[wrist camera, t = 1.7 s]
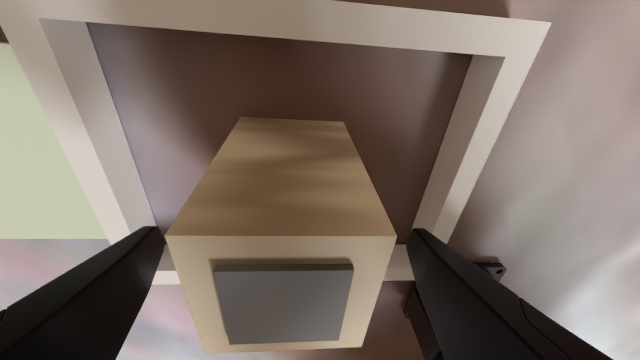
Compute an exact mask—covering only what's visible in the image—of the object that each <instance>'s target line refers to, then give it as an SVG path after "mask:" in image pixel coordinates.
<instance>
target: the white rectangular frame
mask: <svg viewBox="0 0 640 360" xmlns="http://www.w3.org/2000/svg"><path fill="white" fill-rule="evenodd" d="M86 22H94V23H106V24H118V25H130V26H142V27H154V28H165V29H177V30H189V31H201V32H213V33H225V34H237V35H249V36H261V37H273V38H285V39H297V40H309V41H321V42H333V43H345V44H357V45H369V46H381V47H393V48H405V49H417V50H428V51H440V52H452V53H464V54H473V57H472V60H471V63H470V65H469V68H468V71H467V74H466V77H465V79H464V82H463V85H462V88H461V91H460V94H459V96H458V99H457V102H456V105H455V108H454V110H453V113H452V116H451V119H450V122H449V125H448V127H447V130H446V133H445V136H444V139H443V141H442V144H441V147H440V150H439V153H438V156H437V158H436V161H435V164H434V167H433V170H432V172H431V175H430V178H429V181H428V184H427V187H426V189H425V192H424V195H423V198H422V201H421V203H420V206H419V209H418V212H417V215H416V218H415V220H414V223H413V226H412V229H413V228H424V229H426V230H427V231H429V232H430V233H431V234H433V235H434V236H436V237H437V238H438V239H440V240H441V241H442V242H444V243H445V244H447V243H448V241H449V239H450V236H451V234H452V232H453V230H454V228H455V226H456V224H457V222H458V220H459V217H460V215H461V213H462V211H463V209H464V207H465V205H466V203H467V201H468V198H469V196H470V194H471V192H472V190H473V188H474V186H475V184H476V182H477V179H478V177H479V175H480V173H481V171H482V169H483V167H484V165H485V163H486V160H487V158H488V156H489V154H490V152H491V150H492V148H493V146H494V144H495V141H496V139H497V137H498V135H499V133H500V131H501V129H502V127H503V124H504V122H505V120H506V118H507V116H508V114H509V112H510V110H511V108H512V105H513V103H514V101H515V99H516V97H517V95H518V93H519V91H520V89H521V86H522V84H523V82H524V80H525V78H526V76H527V74H528V72H529V70H530V67H531V65H532V63H533V61H534V59H535V57H536V55H537V53H538V51H539V48H540V46H541V44H542V42H543V40H544V38H545V36H546V34H547V31H548V29H549V27H550V25H551V22H541V21H531V20H521V19H512V18H502V17H492V16H482V15H472V14H462V13H452V12H442V11H432V10H423V9H413V8H403V7H393V6H383V5H373V4H363V3H353V2H344V1H334V0H0V26H1V28H2V30H3V32H4V34H5V36H6V38H7V40H8V42H9V44H10V46H11V48H12V50H13V51H14V53H15V55H16V57H17V59H18V61H19V63H20V65H21V67H22V69H23V71H24V73H25V75H26V77H27V79H28V81H29V83H30V85H31V87H32V89H33V91H34V93H35V95H36V97H37V99H38V101H39V103H40V105H41V107H42V109H43V111H44V113H45V115H46V117H47V119H48V121H49V123H50V125H51V127H52V129H53V131H54V133H55V135H56V137H57V139H58V141H59V143H60V145H61V147H62V149H63V151H64V153H65V155H66V157H67V159H68V161H69V163H70V165H71V167H72V169H73V171H74V173H75V175H76V177H77V179H78V181H79V183H80V185H81V187H82V189H83V191H84V193H85V195H86V197H87V199H88V201H89V203H90V205H91V207H92V209H93V211H94V213H95V215H96V217H97V219H98V221H99V223H100V225H101V227H102V229H103V231H104V233H105V235H106V237H107V239H108V241H109V243H110V245H113V244H114V243H116V242H118V241H119V240H121V239H123V238H124V237H126V236H128V235H130V234H131V233H133V232H135V231H136V230H138V229H140V228H141V227H143V226H156V223H155V220H154V217H153V214H152V211H151V208H150V206H149V203H148V200H147V197H146V194H145V191H144V188H143V186H142V183H141V180H140V177H139V174H138V171H137V168H136V165H135V163H134V160H133V157H132V154H131V151H130V148H129V145H128V143H127V140H126V137H125V134H124V131H123V128H122V125H121V123H120V120H119V117H118V114H117V111H116V108H115V105H114V103H113V100H112V97H111V94H110V91H109V88H108V85H107V83H106V80H105V77H104V74H103V71H102V68H101V65H100V63H99V60H98V57H97V54H96V51H95V48H94V45H93V42H92V40H91V37H90V34H89V31H88V28H87V25H86ZM412 229H411V230H412ZM409 235H410V234H409ZM408 238H409V237H408ZM407 241H408V240H407ZM406 244H407V243H406ZM404 280H415V279H414V275H413V272H412V268H411V264H410V261H409V257H408V253H407V249H406V245H394V248H393V251H392V254H391V257H390V260H389V264H388V267H387V270H386V273H385V276H384V279H383V281H404ZM157 284H181V283H180V280H179V277H178V274H177V271H176V268H175V265H174V262H173V259H172V256H171V253H170V250H169V247H168V245H165V247H164V252H163V254H162V257H161V260H160V263H159V265H158V268H157V271H156V273H155V276H154V279H153V282H152V284H151V285H157Z"/></svg>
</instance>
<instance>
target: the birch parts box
mask: <svg viewBox="0 0 640 360" xmlns="http://www.w3.org/2000/svg"><path fill="white" fill-rule="evenodd" d="M165 239H166V242H167V245H168V247H169V250H170V253H171V256H172V259H173V262H174V265H175V268H176V271H177V274H178V277H179V280H180V283H181V286H182V289H183V292H184V295H185V298H186V301H187V304H188V307H189V310H190V313H191V315H192V318H193V321H194V324H195V327H196V330H197V333H198V336H199V339H200V342H201V345H202V348H203V351H204V354H212V353H235V352H258V351H281V350H304V349H327V348H350V347H362V344H363V341H364V338H365V335H366V332H367V329H368V325H369V322H370V319H371V316H372V313H373V310H374V307H375V304H376V301H377V298H378V295H379V291H380V288H381V285H382V282H383V279H384V276H385V273H386V270H387V267H388V264H389V260H390V257H391V254H392V251H393V248H394V245H395V242H396V239H397V235H396V233H395V231H394V228H393V226H392V224H391V222H390V220H389V218H388V216H387V214H386V211H385V209H384V207H383V205H382V203H381V201H380V199H379V196H378V194H377V192H376V190H375V188H374V186H373V184H372V182H371V179H370V177H369V175H368V173H367V171H366V169H365V167H364V165H363V162H362V160H361V158H360V156H359V154H358V152H357V150H356V148H355V145H354V143H353V141H352V139H351V137H350V135H349V133H348V131H347V128H346V126H345V124H344V122H336V121H317V120H297V119H277V118H257V117H240V119H239V120H238V122H237V123H236V125H235V126H234V128H233V129H232V131H231V133H230V134H229V136H228V137H227V139H226V140H225V142H224V144H223V145H222V147H221V148H220V150H219V151H218V153H217V154H216V156H215V158H214V159H213V161H212V162H211V164H210V165H209V167H208V169H207V170H206V172H205V173H204V175H203V176H202V178H201V179H200V181H199V183H198V184H197V186H196V187H195V189H194V190H193V192H192V194H191V195H190V197H189V198H188V200H187V201H186V203H185V204H184V206H183V208H182V209H181V211H180V212H179V214H178V215H177V217H176V219H175V220H174V222H173V223H172V225H171V226H170V228H169V229H168V231H167V233H166V234H165Z"/></svg>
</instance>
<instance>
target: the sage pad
mask: <svg viewBox="0 0 640 360" xmlns="http://www.w3.org/2000/svg"><path fill="white" fill-rule="evenodd" d="M0 239H107V237H106V235H105V233H104V231H103V229H102V227H101V225H100V223H99V221H98V219H97V217H96V215H95V213H94V211H93V209H92V207H91V205H90V203H89V201H88V199H87V197H86V195H85V193H84V191H83V189H82V187H81V185H80V183H79V181H78V179H77V177H76V175H75V173H74V171H73V169H72V167H71V165H70V163H69V161H68V159H67V157H66V155H65V153H64V151H63V149H62V147H61V145H60V143H59V141H58V139H57V137H56V135H55V133H54V131H53V129H52V127H51V125H50V123H49V121H48V119H47V117H46V115H45V113H44V111H43V109H42V107H41V105H40V103H39V101H38V99H37V97H36V95H35V93H34V91H33V89H32V87H31V85H30V83H29V81H28V79H27V77H26V75H25V73H24V71H23V69H22V67H21V65H20V63H19V61H18V59H17V57H16V55H15V53H14V51H13V50H12V48H11V46H10V44H9V43H8V42H0Z"/></svg>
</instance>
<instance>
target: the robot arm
mask: <svg viewBox="0 0 640 360" xmlns="http://www.w3.org/2000/svg"><path fill="white" fill-rule="evenodd" d="M164 247H165V244H164V241H163V238H162V235H161V232H160V229H159V228H158V227H157V226H143V227H141V228H140V229H138V230H136V231H135V232H133V233H131V234H130V235H128V236H126V237H124V238H123V239H121V240H119V241H118V242H116V243H114V244H113V245H111V246H109V247H108V248H106V249H104V250H103V251H101V252H99V253H98V254H96V255H94V256H93V257H91V258H89V259H88V260H86V261H84V262H82V263H81V264H79V265H77V266H76V267H74V268H72V269H71V270H69V271H67V272H66V273H64V274H62V275H61V276H59V277H57V278H56V279H54V280H52V281H51V282H49V283H47V284H45V285H44V286H42V287H40V288H39V289H37V290H35V291H34V292H32V293H30V294H29V295H27V296H25V297H24V298H22V299H20V300H19V301H17V302H15V303H14V304H12V305H10V306H9V307H7V309H4V310H2V311H0V360H116V358H117V356H118V354H119V351H120V349H121V347H122V345H123V343H124V341H125V339H126V337H127V335H128V333H129V331H130V329H131V327H132V325H133V323H134V321H135V319H136V317H137V315H138V313H139V311H140V309H141V307H142V305H143V303H144V301H145V299H146V296H147V294H148V292H149V290H150V287H151V284H152V282H153V279H154V276H155V273H156V271H157V268H158V265H159V263H160V260H161V257H162V254H163V252H164ZM406 249H407V253H408V257H409V261H410V264H411V268H412V272H413V275H414V279H415V285H414V287H413V290H412V292H411V294H410V297H409V299H408V301H407V304H406V306H405V308H404V311H403V313H404V316H405V318H408V319H410V321H411V324H412V326H413V329H414V332H415V334H416V337H417V339H418V342H419V345H420V347H421V350H422V353H423V355H424V358H425V360H613V359H611V358H610V357H608V356H607V355H605V354H604V353H602V352H601V351H599V350H598V349H596V348H594V347H593V346H591V345H590V344H588V343H587V342H585V341H584V340H582V339H580V338H579V337H577V336H576V335H574V334H573V333H571V332H570V331H568V330H567V329H565V328H564V327H562V326H561V325H559V324H558V323H556V322H555V321H553V320H552V319H550V318H549V317H547V316H546V315H545V314H543V313H542V312H540V311H539V310H537V309H536V308H534V307H533V306H532V305H530V304H529V303H528V302H526V301H525V300H523V299H522V298H519V297H518V295H516V294H515V293H513V292H512V291H511V290H509V289H508V288H507V287H505V286H504V285H502V284H501V283H500V282H499V280H500V279H501V277H502V276H503V275H504V273H505V272H506V268H505V267H504V266H503V264H501V263H472V262H470V261H469V260H468V259H466V258H465V257H463V256H462V255H461V254H459V253H458V252H456V251H455V250H454V249H452V248H451V247H449V246H448V245H447V244H445V243H444V242H442V241H441V240H440V239H438V238H437V237H436V236H434V235H433V234H431V233H430V232H429V231H427V230H426V229H424V228H413V229H412V230H411V232H410V235H409V238H408V241H407V244H406Z"/></svg>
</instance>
